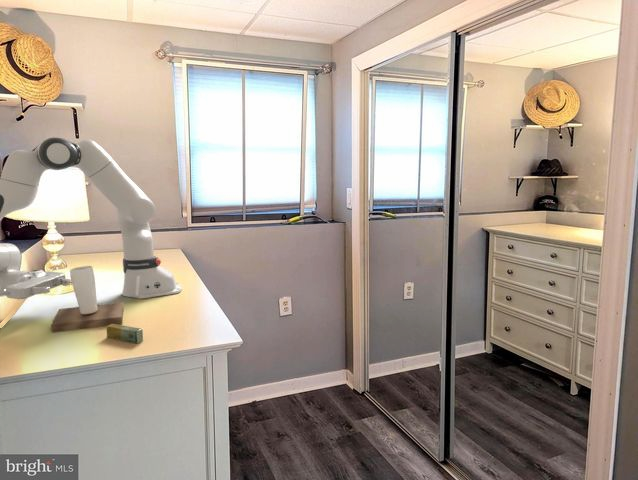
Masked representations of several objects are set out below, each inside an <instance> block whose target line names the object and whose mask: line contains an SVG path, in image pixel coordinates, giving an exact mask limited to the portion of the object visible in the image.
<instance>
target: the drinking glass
mask: <svg viewBox="0 0 638 480" xmlns="http://www.w3.org/2000/svg"><path fill="white" fill-rule="evenodd" d="M69 276H70V282H71V285H72V288H73V291H74V294H75V295H74V296H75V298H76V301H77V307H79V310H80V313H81V314H83V315H86V314H91V313H94V312H96V311H97V310H98V307H97V305H98V302H97V300H98V299H97V291H96V278H95V274H94V269H93V266H92V265H85V266H83V265H82V266H76V267H73V268H70V269H69Z"/></svg>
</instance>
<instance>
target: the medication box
mask: <svg viewBox="0 0 638 480" xmlns="http://www.w3.org/2000/svg"><path fill="white" fill-rule="evenodd" d="M105 327H106V339H111V340H116V341H120V342H125V343H129V344H130V343H131V344H134V345H138V344H140V343H143V341H144V333H143V331H144V330H143V328H139V327H134V326H128V325H123V324H120V325H118V324H111V325H108V326H105Z"/></svg>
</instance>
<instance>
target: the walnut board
mask: <svg viewBox="0 0 638 480" xmlns="http://www.w3.org/2000/svg"><path fill="white" fill-rule="evenodd" d="M97 307H98V310H97V311H96V312H94V313H91V314H86V315H83V314H81V313H80V310H79V306H75V307H65V308H59V309H58V311H57V313H56V314H55V316H54V318H53V320H52V322H51V323H50V327H51V328H50V329H51V330H50V331H51V333H57V332H58V333H59V332H66V331H74V330H77V331H78V330H84V329H91V328H92V329H94V328H101V327H106V326H108V325H111V324H118V325H123V320H124V319H123V318H124V311H125V310H124V302H117V303H106V304H103V303H102V304H97Z"/></svg>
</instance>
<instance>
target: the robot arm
mask: <svg viewBox="0 0 638 480" xmlns="http://www.w3.org/2000/svg"><path fill="white" fill-rule="evenodd" d="M3 165H4V166H3V168H2V170H1V174H0V222H1V221H2V220H3V218H5V217H6V216H8V215H9V214H12V213H13V212H16V211H20V210H23V209H26V208H27V207H30V205H32V204H33V202H34V201H35V199H36V197H37V194H38V190H39V189H38V188H39V185H40V181H41V177H42V176H43V174H44V173H45V171H47V170H54V171H61V170H65V169H68V168H71V167H76V168H78V169H79V170H80V171H81V172H82V173H83V174H84V175H85V177H87V178H88V180H89V181H90V182H91V183H92V184H93V186H95V187H96V189H97V190H98V191H99V192H100V193H101V194H102V195H103V196H104V197H105V198H106V199H107V200H108V201H109V202H110V203H111V204H112V205H113V206H114V207H115V208H116V210H117V216H118V217H117V218H118V222H119V227H120V233H121V238H122V248H123V259H122V270H123V274H124V276H123V278H124V279H123V288H122V293H121V295H122V296H124V297H126V298H127V297H128V298H136V299H140V300H142V299H149V298H155V297H161V296H168V295H175V294H178V293H181V292H182V290H183V289H182V285H181V284H180V283H177V282H176V278H175V275H174V274H173V273H172V272H171V271H170V270H168V269H167V268H165V267H163V266H162V265H161V264H162V260H161V259H160V258H159V257H158V256H155V253H154V252H155V251H154V238H153V237H154V236H153V234H152V230H151V226H150V223H151V221H153V220H154V218H155V217H156V213H157V211H156V210H157V209H156V206H155V204H154V202H153V201H152V200H151V199H150V198H149V196H147V194H145V192H144V191H143V190H142V189H141V188H140V187H139V186H138V185H137V184H136V183H135V182H134V181H133V180H132V179H131V178H130V177H129V176H128V175H127V174H126V173H125V171H123V170H122V168H121V167H120V166H119V165H118V164H117V162H116V161H115V159H114V158H112V156H111V155H110V154H109V153H107V151H106V150H105V149H104V148H103V147H102V146H101V145H100V144H98V143H97V142H95V141H94V140H92V139H84V140H80V141H78V142H77V143H74V142H71V141H69V140H68V139H65V138H61V137H54V136H53V137H48V138H45V139H43V140H41V142H39V143H38V145H37V146H36V147H35V148H33V149H32V150H27V149H16V150H13V151H11V152H10V153H9V154H8V157H7V159H6V161H5V163H4V164H3ZM22 259H23V257H22V253H21V250H20V248H19V247H18V246H17V245H15V244H13V243H9V242H8V243H7V242H5V243H3V242H0V297H6V298H8V299H13V300H25V299H28V298H31V297H33V296H36V295H41V294H48V293H50V292H51V290H52V289H54V288H57V287H59V286H63V287H64V286H65V287H67V286H69V285H71V279H66V274H65V273H63V272H56V271H44V270H43V269H35V270H34V269H33V270H28V271H27V270H21V265H22Z"/></svg>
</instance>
